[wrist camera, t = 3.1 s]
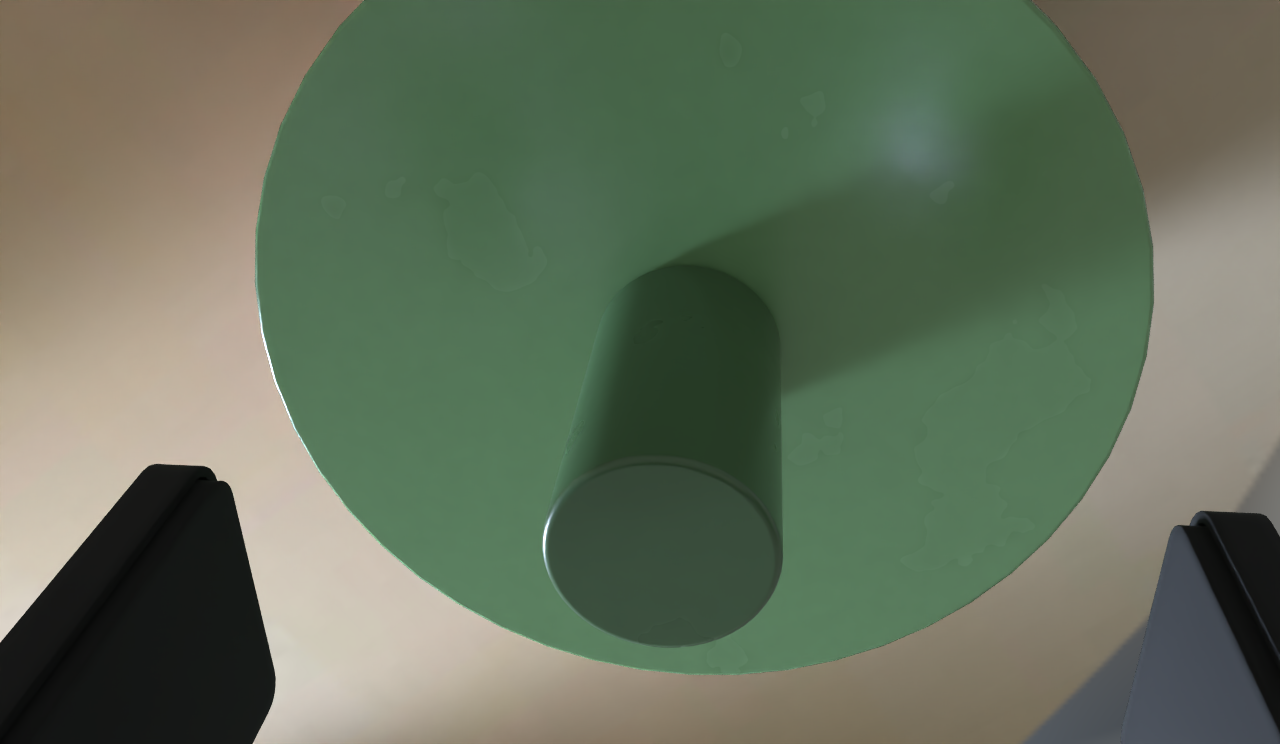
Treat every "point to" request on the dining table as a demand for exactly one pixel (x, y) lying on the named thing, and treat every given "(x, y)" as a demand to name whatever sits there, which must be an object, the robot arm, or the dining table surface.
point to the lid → (705, 310)
